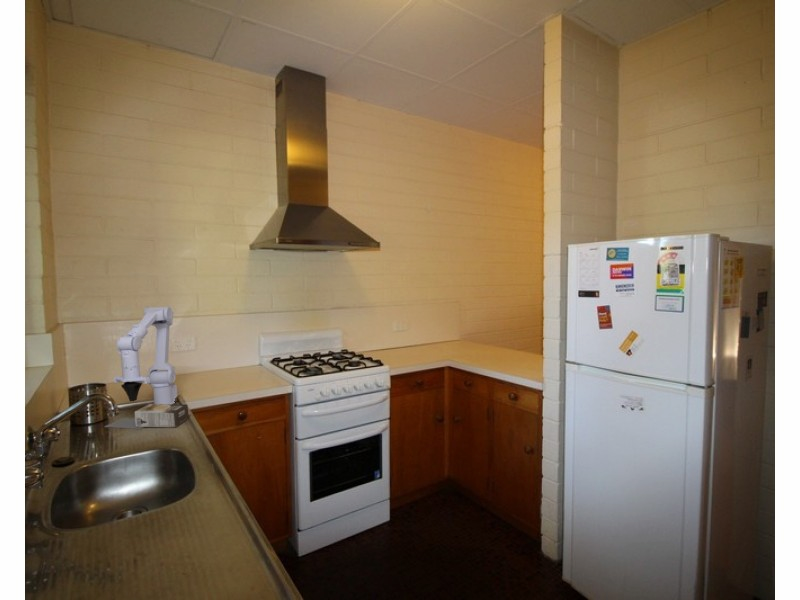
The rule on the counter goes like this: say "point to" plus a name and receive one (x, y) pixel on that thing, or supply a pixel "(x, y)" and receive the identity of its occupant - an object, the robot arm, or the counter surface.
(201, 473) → the counter surface
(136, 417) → the coffee box
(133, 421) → the mat
